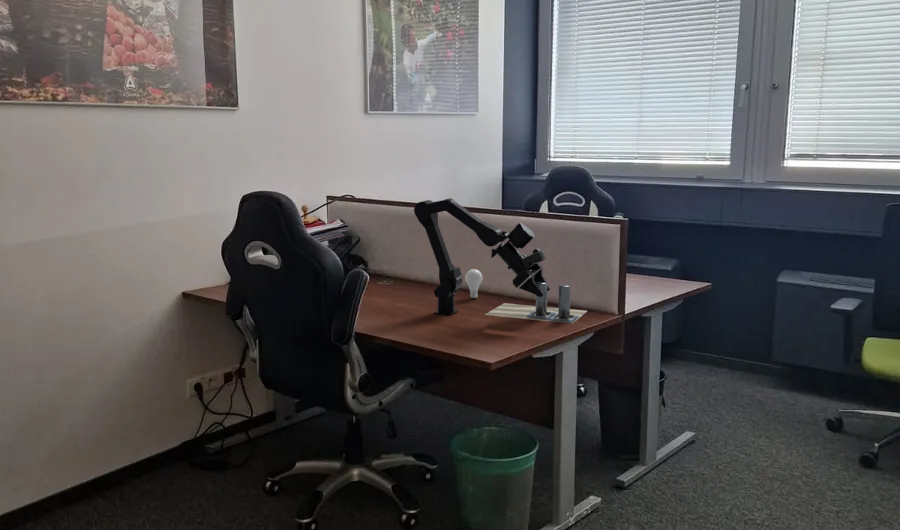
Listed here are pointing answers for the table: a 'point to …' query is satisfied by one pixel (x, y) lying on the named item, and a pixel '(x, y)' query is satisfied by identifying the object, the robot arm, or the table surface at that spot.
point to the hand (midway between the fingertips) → (545, 293)
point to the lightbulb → (473, 281)
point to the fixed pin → (564, 302)
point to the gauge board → (533, 313)
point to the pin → (541, 300)
